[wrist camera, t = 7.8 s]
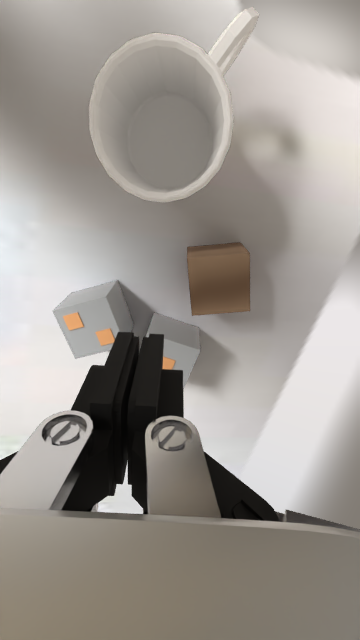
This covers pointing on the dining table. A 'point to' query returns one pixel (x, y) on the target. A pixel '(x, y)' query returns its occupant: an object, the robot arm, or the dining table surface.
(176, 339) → the block one
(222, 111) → the mug
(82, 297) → the block two
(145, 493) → the robot arm
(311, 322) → the dining table surface
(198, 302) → the plain block
